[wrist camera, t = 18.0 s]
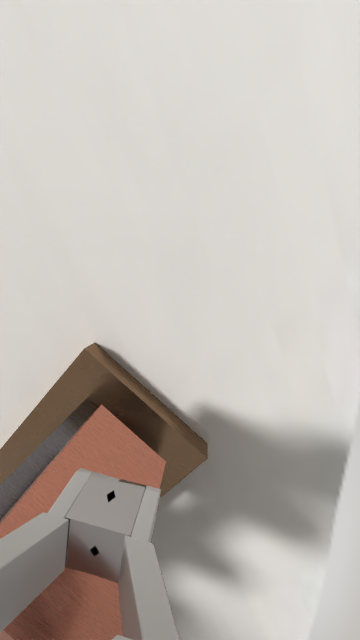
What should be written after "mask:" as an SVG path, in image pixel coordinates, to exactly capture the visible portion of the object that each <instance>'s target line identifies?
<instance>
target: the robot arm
mask: <svg viewBox="0 0 360 640" xmlns="http://www.w3.org/2000/svg"><path fill="white" fill-rule="evenodd" d="M160 493H161V489H158V488H154V487H150V486H147V485H143V484H139V483H135V482H131V481H127V480H123V479H117V478H114V477H110V476H107V475H103V474H100V473H97V472H93V471H89V470H86V469H82V468H80V469H79V470H77V471H76V472H75V474H74V475H73V477H72V478H71V480H70V481H69V483H68V484H67V485H66V487H65V488H64V490H63V491H62V493H61V494H60V496H59V497H58V499H57V500H56V502H55V503H54V504H53V506H52V507H51V509H50V510H49V512H48V513H44V512H43V513H41V514H39V515H38V516H36V517H35V518H33V519H31V520H30V521H28V522H27V523H25V524H23V525H22V526H20V527H19V528H17V529H15V530H14V531H12V532H11V533H9V534H7V535H6V536H4V537H3V538H1V539H0V633H1V632H2V631H3V630H4V629H5V628H6V627H7V626H8V625H9V624H10V623H11V622H12V621H13V620H14V619H15V618H16V617H17V616H18V615H19V614H20V613H21V612H22V611H23V610H24V609H25V608H26V607H27V606H28V605H29V604H30V603H31V602H32V601H33V600H34V599H35V598H36V597H37V596H38V595H39V594H40V593H41V592H42V591H43V590H45V589H46V588H47V587H48V586H49V585H50V584H51V583H52V582H53V581H54V580H55V579H56V578H57V577H58V576H59V575H60V574H61V573H62V572H63V571H64V570H65V567H66V568H70V569H73V570H77V571H81V572H85V573H89V574H92V575H95V576H98V577H101V578H104V579H107V580H110V581H112V582H115V583H118V592H119V602H120V613H121V623H122V633H123V636H120V635H116V636H115V637H114V638H113V639H112V640H179V637H178V633H177V629H176V626H175V622H174V618H173V615H172V611H171V607H170V603H169V600H168V596H167V592H166V588H165V585H164V581H163V577H162V574H161V570H160V566H159V562H158V559H157V555H156V551H155V548H154V544H153V543H151V540H152V536H153V531H154V525H155V520H156V515H157V509H158V504H159V499H160Z"/></svg>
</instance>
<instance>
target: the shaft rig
mask: <svg viewBox="0 0 360 640" xmlns="http://www.w3.org/2000/svg"><path fill="white" fill-rule="evenodd" d="M101 404H102V405H103V406H104V407H105V408H106V409H107V410H108V411H110V412H111V413H112V414H113V415H114V416H115V417H116V418H117V419H119V420H120V421H121V422H122V423H123V424H124V425H125V426H126V427H128V428H129V429H130V430H131V431H132V432H133V433H134V434H135V435H137V436H138V437H139V438H140V439H141V440H142V441H143V442H144V443H146V444H147V445H148V446H149V447H150V448H151V449H152V450H153V451H155V452H156V453H157V454H158V455H159V456H160V457H161V458H162V459H164V460H165V461H166V464H165V468H164V472H163V476H162V481H161V485H160V489H161V493H160V497H162V496H163V495H164V494H165V493H166V492H168V491H169V490H170V489H171V488H172V487H174V486H175V485H176V484H177V483H178V482H180V481H181V480H182V479H183V478H184V477H186V476H187V475H188V474H189V473H190V472H192V471H193V470H194V469H195V468H196V467H198V466H199V465H200V464H201V463H202V462H204V461H205V460H206V459H207V445H208V444H207V443H206V442H205V441H204V440H202V439H201V438H200V437H199V436H198V435H197V434H196V433H195V432H194V431H192V430H191V429H190V428H189V427H188V426H187V425H186V424H185V423H184V422H182V421H181V420H180V419H179V418H178V417H177V416H176V415H175V414H174V413H172V412H171V411H170V410H169V409H168V408H167V407H166V406H165V405H164V404H162V403H161V402H160V401H159V400H158V399H157V398H156V397H155V396H153V395H152V394H151V393H150V392H149V391H148V390H147V389H146V388H145V387H143V386H142V385H141V384H140V383H139V382H138V381H137V380H136V379H135V378H133V377H132V376H131V375H130V374H129V373H128V372H127V371H126V370H125V369H123V368H122V367H121V366H120V365H119V364H118V363H117V362H116V361H115V360H113V359H112V358H111V357H110V356H109V355H108V354H107V353H106V352H105V351H103V350H102V349H101V348H100V347H99V346H98V345H97V344H96V343H93V344H91V345H90V346H88V347H86V348H85V349H84V350H83V351H82V352H81V353H80V354H79V356H78V357H77V358H76V359H75V360H74V362H73V363H72V364H71V365H70V366H69V368H68V369H67V370H66V371H65V372H64V374H63V375H62V376H61V377H60V378H59V380H58V381H57V382H56V383H55V384H54V386H53V387H52V388H51V389H50V390H49V392H48V393H47V394H46V395H45V396H44V398H43V399H42V400H41V401H40V402H39V404H38V405H37V406H36V407H35V408H34V410H33V411H32V412H31V413H30V414H29V416H28V417H27V418H26V419H25V420H24V422H23V423H22V424H21V425H20V426H19V428H18V429H17V430H16V431H15V432H14V434H13V435H12V436H11V437H10V438H9V440H8V441H7V442H6V443H5V444H4V446H3V447H2V448H1V449H0V521H1V519H2V518H3V517H4V516H5V515H6V514H7V512H8V511H9V510H10V509H11V508H12V507H13V505H14V504H15V503H16V502H17V501H18V500H19V498H20V497H21V496H22V495H23V494H24V493H25V491H26V490H27V489H28V488H29V487H30V485H31V484H32V483H33V482H34V481H35V480H36V478H37V477H38V476H39V475H40V474H41V473H42V471H43V470H44V469H45V468H46V467H47V466H48V464H49V463H50V462H51V461H52V460H53V459H54V457H55V456H56V455H57V454H58V453H59V452H60V450H61V449H62V448H63V447H64V446H65V445H66V443H67V442H68V441H69V440H70V439H71V438H72V436H73V435H74V434H75V433H76V432H77V431H78V429H79V428H80V427H81V426H82V425H83V424H84V423H85V422H86V421H87V419H88V418H89V417H90V416H91V415H92V414H93V413H94V412H95V411H96V410H97V409H98V408H99V407H100V406H101Z"/></svg>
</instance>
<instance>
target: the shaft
mask: <svg viewBox="0 0 360 640" xmlns="http://www.w3.org/2000/svg"><path fill="white" fill-rule="evenodd" d="M165 464H166V461H165V460H164V459H162V458H161V457H160V456H159V455H158V454H157V453H156V452H155V451H153V450H152V449H151V448H150V447H149V446H148V445H147V444H146V443H144V442H143V441H142V440H141V439H140V438H139V437H138V436H137V435H135V434H134V433H133V432H132V431H131V430H130V429H129V428H128V427H126V426H125V425H124V424H123V423H122V422H121V421H120V420H119V419H117V418H116V417H115V416H114V415H113V414H112V413H111V412H110V411H108V410H107V409H106V408H105V407H104V406H103V405H102V404H101V406H100V407H99V408H98V409H97V410H96V411H95V412H94V413H93V414H92V415H91V416H90V417H89V418H88V419H87V421H86V422H85V423H84V424H83V425H82V426H81V427H80V428H79V429H78V431H77V432H76V433H75V434H74V435H73V436H72V438H71V439H70V440H69V441H68V442H67V443H66V445H65V446H64V447H63V448H62V449H61V450H60V452H59V453H58V454H57V455H56V456H55V457H54V459H53V460H52V461H51V462H50V463H49V464H48V466H47V467H46V468H45V469H44V470H43V471H42V473H41V474H40V475H39V476H38V477H37V478H36V480H35V481H34V482H33V483H32V484H31V485H30V487H29V488H28V489H27V490H26V491H25V493H24V494H23V495H22V496H21V497H20V498H19V500H18V501H17V502H16V503H15V504H14V505H13V507H12V508H11V509H10V510H9V511H8V512H7V514H6V515H5V516H4V517H3V518H2V519H1V521H0V539H1V538H3V537H4V536H6V535H7V534H9V533H11V532H12V531H14V530H15V529H17V528H19V527H20V526H22V525H23V524H25V523H27V522H28V521H30V520H31V519H33V518H35V517H36V516H38V515H39V514H41V513H43V512H44V513H48V512H49V510H50V509H51V507H52V506H53V504H54V503H55V502H56V500H57V499H58V497H59V496H60V494H61V493H62V491H63V490H64V488H65V487H66V485H67V484H68V483H69V481H70V480H71V478H72V477H73V475H74V474H75V472H76V471H77V470H79V469H80V468H82V469H86V470H89V471H93V472H97V473H100V474H103V475H107V476H110V477H114V478H117V479H123V480H127V481H131V482H135V483H139V484H143V485H147V486H150V487H154V488H158V489H160V485H161V481H162V476H163V472H164V468H165ZM116 635H120V636H123V633H122V623H121V613H120V602H119V592H118V583H115V582H112V581H110V580H107V579H104V578H101V577H98V576H95V575H92V574H89V573H85V572H81V571H77V570H73V569H70V568H66V567H65V570H64V571H63V572H62V573H61V574H60V575H59V576H58V577H57V578H56V579H55V580H54V581H53V582H52V583H51V584H50V585H49V586H48V587H47V588H46V589H45V590H43V591H42V592H41V593H40V594H39V595H38V596H37V597H36V598H35V599H34V600H33V601H32V602H31V603H30V604H29V605H28V606H27V607H26V608H25V609H24V610H23V611H22V612H21V613H20V614H19V615H18V616H17V617H16V618H15V619H14V620H13V621H12V622H11V623H10V624H9V625H8V626H7V627H6V628H5V629H4V630H3V631H2V632H1V633H0V640H112V639H113V638H114V637H115V636H116Z"/></svg>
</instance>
